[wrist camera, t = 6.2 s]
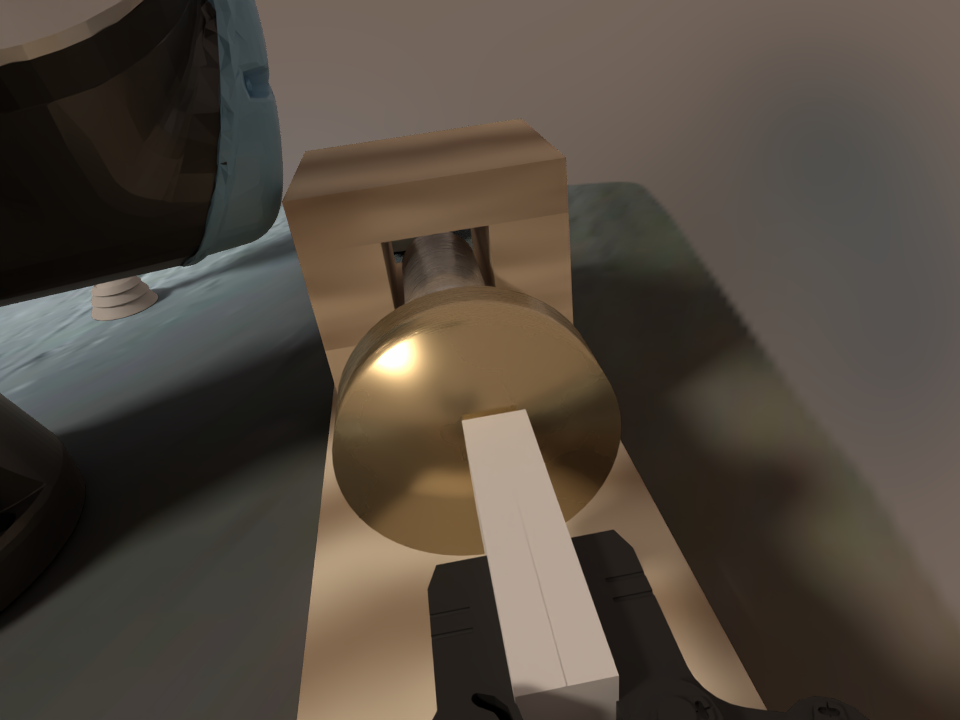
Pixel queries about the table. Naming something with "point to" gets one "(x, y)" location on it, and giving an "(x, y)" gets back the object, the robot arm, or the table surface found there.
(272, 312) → the table surface
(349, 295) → the bearing stand
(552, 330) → the shaft
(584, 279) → the table surface
